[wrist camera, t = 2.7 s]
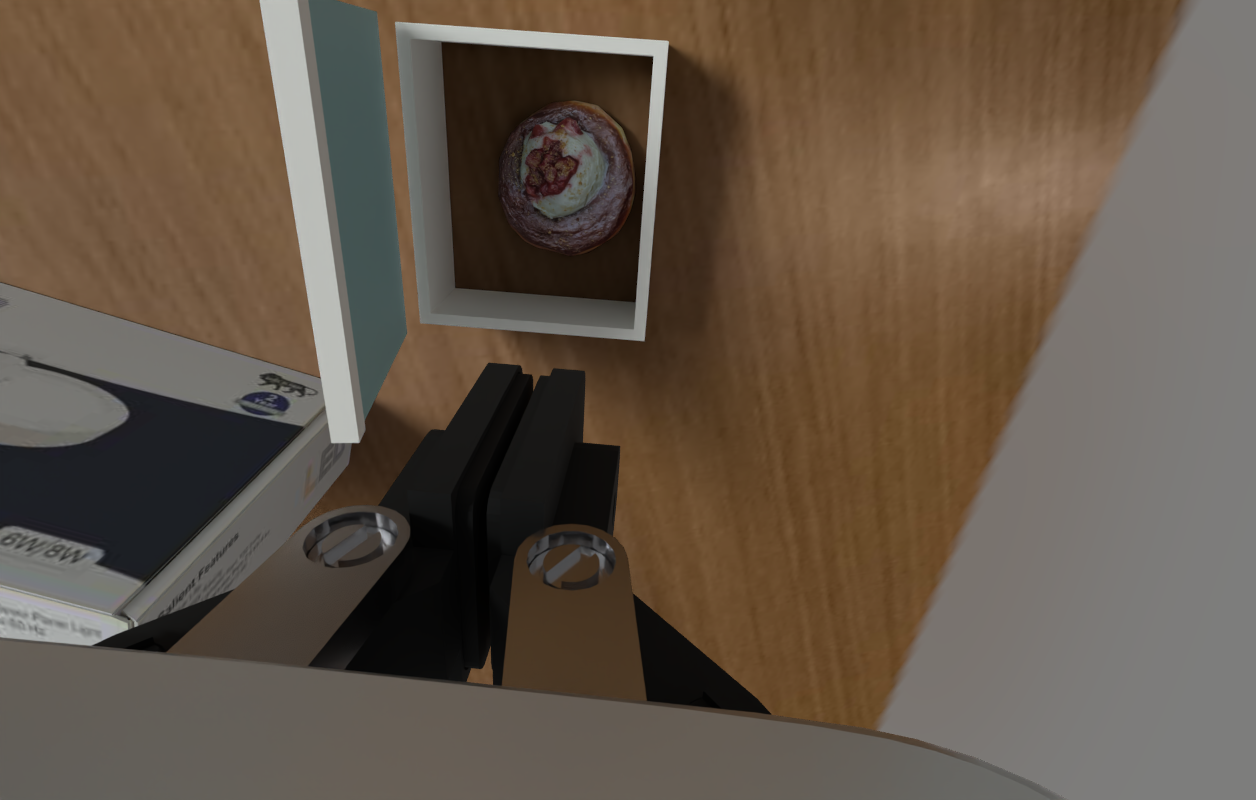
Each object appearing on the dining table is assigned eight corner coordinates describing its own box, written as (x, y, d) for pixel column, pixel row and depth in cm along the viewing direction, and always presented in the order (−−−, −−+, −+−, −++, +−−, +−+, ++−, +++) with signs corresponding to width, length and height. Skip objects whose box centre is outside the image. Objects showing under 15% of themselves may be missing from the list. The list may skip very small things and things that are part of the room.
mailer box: (428, 27, 33) (395, 21, 29) (668, 44, 33) (668, 40, 29) (445, 297, 39) (420, 323, 35) (647, 312, 39) (644, 341, 35)
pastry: (576, 67, 34) (562, 67, 29) (669, 185, 36) (670, 202, 31) (469, 173, 36) (441, 188, 32) (562, 276, 39) (548, 304, 34)
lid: (381, 12, 28) (357, 10, 28) (295, -13, 18) (256, -16, 18) (411, 333, 35) (391, 332, 35) (359, 443, 25) (331, 443, 25)
